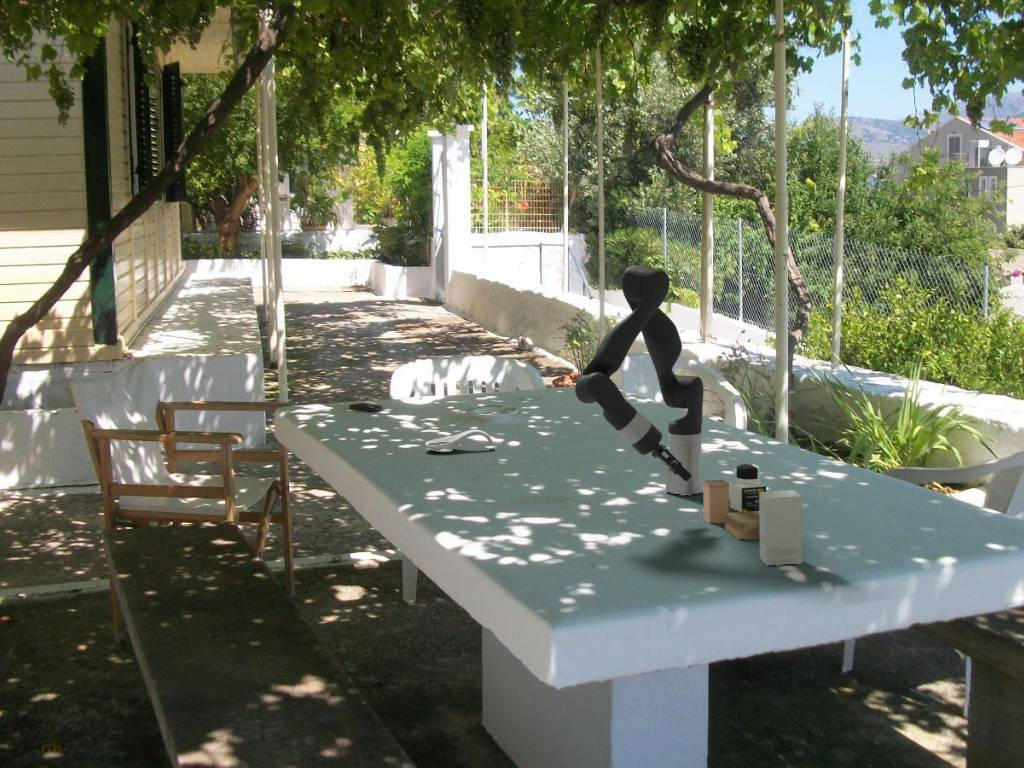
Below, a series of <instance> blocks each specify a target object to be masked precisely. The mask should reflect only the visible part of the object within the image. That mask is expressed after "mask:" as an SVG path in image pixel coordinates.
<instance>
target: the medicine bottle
mask: <svg viewBox="0 0 1024 768" xmlns="http://www.w3.org/2000/svg"><path fill="white" fill-rule="evenodd" d="M760 481H761V467H760V466H759V465H756V464H753V463H742V464H740V465H737V466H736V480H735V481H730V482H729V483H730V487H729V509H732V510H734V511H736V510H737V511H736V512H738V511H739V512H754V511H759V492H767V485H766V484H765V483H762V482H760Z"/></svg>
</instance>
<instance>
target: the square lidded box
mask: <svg viewBox="0 0 1024 768" xmlns="http://www.w3.org/2000/svg"><path fill="white" fill-rule="evenodd" d="M702 485H703V520H704V519H705V520H704V521H706V522H707V523H708V522H709V523H708V524H723V523H724V524H725V513H730V511H729V510H730V482H728V481H726V480H725V479H723V478H722V479H707V480H706V479H705V480H704V479H703V480H702Z"/></svg>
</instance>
